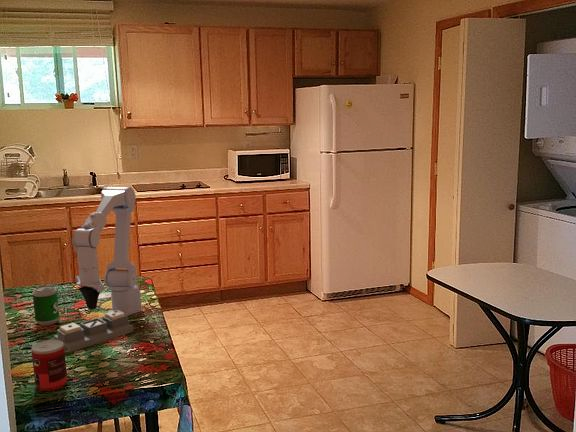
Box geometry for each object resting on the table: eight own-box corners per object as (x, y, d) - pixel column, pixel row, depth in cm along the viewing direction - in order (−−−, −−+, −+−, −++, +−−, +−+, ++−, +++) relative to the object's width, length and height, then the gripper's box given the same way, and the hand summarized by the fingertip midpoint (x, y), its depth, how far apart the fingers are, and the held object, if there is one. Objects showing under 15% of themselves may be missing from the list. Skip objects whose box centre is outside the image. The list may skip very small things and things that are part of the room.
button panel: (116, 322, 197) (115, 309, 196) (133, 331, 189) (132, 317, 188) (54, 341, 182) (52, 327, 181) (70, 352, 175) (69, 337, 174)
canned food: (40, 378, 159) (36, 340, 156) (71, 376, 159) (67, 338, 157) (31, 392, 151) (26, 352, 149) (63, 390, 152) (59, 350, 150)
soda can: (51, 327, 194) (47, 292, 191) (30, 325, 195) (27, 291, 193) (64, 318, 201) (60, 285, 199) (44, 317, 202) (40, 284, 200)
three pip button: (97, 325, 188) (96, 319, 188) (103, 329, 185) (103, 323, 185) (84, 329, 185) (83, 323, 185) (90, 333, 182) (90, 327, 182)
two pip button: (118, 314, 193) (117, 309, 193) (125, 318, 190) (124, 312, 190) (105, 318, 190) (105, 312, 190) (112, 322, 187) (112, 316, 187)
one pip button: (74, 328, 183) (73, 322, 182) (80, 331, 180) (80, 325, 179) (60, 332, 180) (59, 326, 179) (66, 336, 177) (66, 329, 176)
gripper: (65, 265, 183) (69, 306, 186) (87, 274, 173) (91, 318, 176) (86, 260, 188) (90, 300, 191) (109, 269, 178) (112, 311, 181)
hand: (92, 308), depth 184 cm, fingers closed
